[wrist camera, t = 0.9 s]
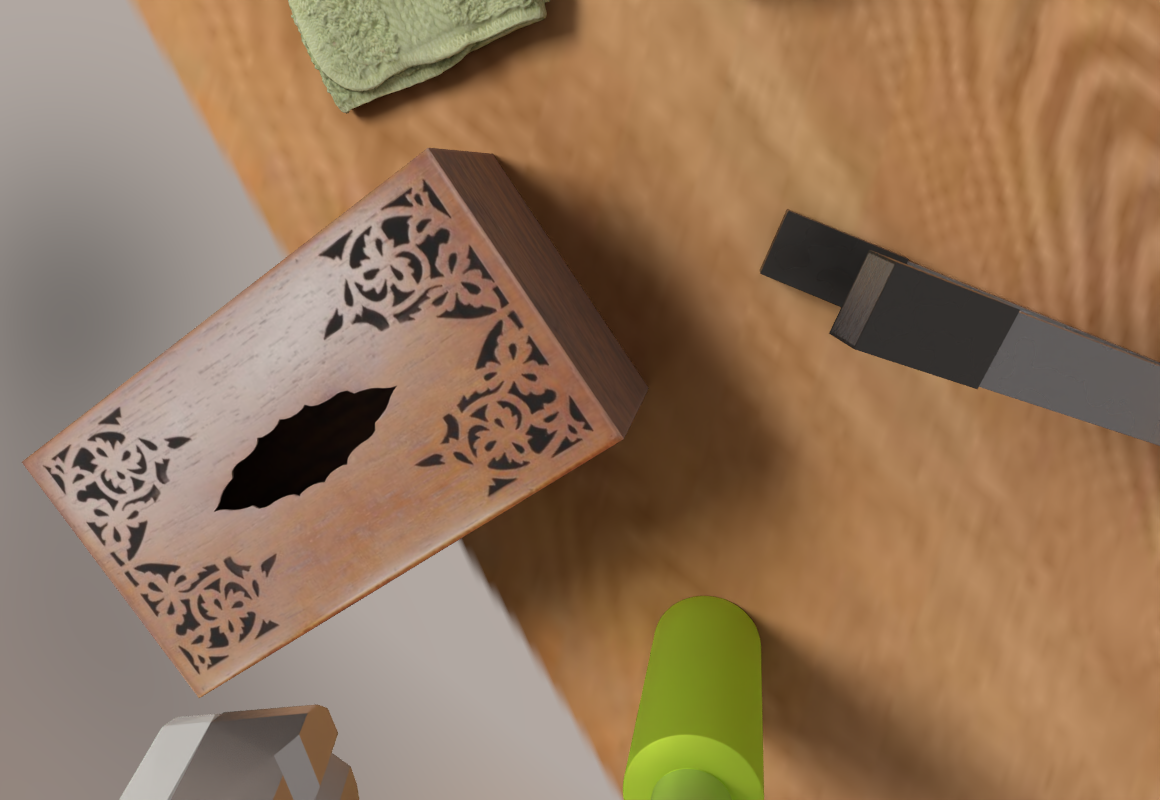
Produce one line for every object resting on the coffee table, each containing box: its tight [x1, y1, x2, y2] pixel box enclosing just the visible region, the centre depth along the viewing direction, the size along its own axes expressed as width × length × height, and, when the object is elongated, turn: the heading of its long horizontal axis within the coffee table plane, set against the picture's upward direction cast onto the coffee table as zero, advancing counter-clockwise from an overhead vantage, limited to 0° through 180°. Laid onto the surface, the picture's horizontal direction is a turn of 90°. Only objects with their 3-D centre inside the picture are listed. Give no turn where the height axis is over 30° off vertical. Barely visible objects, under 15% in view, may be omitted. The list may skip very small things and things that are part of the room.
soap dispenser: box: [623, 596, 764, 800], centre depth 41 cm, size 6×7×20 cm
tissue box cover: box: [22, 148, 649, 698], centre depth 46 cm, size 26×14×10 cm, turn 124°
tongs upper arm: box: [829, 250, 1160, 446], centre depth 36 cm, size 23×3×2 cm, turn 69°
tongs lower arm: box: [760, 209, 1160, 365], centre depth 43 cm, size 28×3×2 cm, turn 68°
